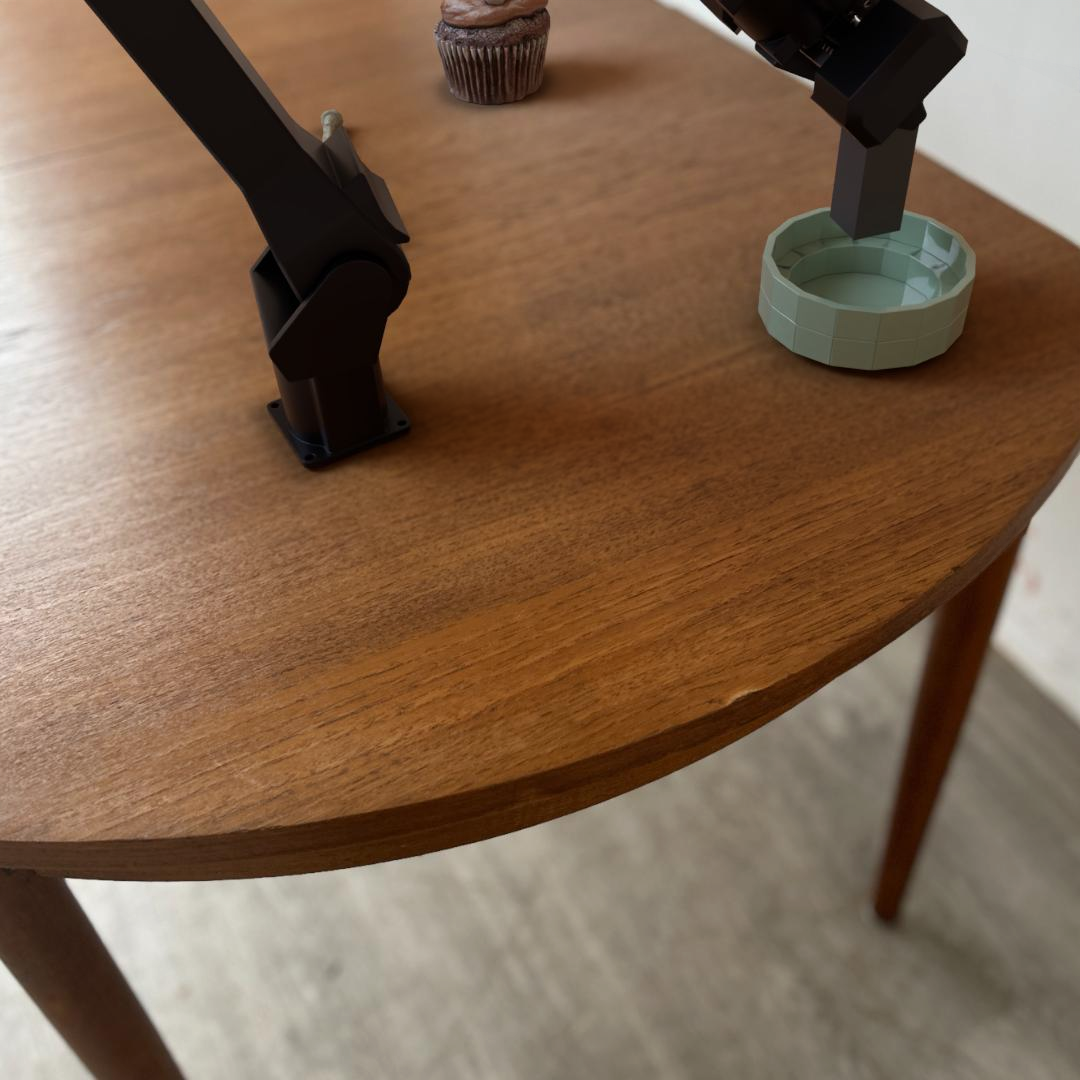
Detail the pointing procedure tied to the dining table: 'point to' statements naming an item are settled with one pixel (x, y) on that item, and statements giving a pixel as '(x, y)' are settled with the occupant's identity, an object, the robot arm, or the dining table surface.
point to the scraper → (872, 184)
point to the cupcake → (493, 48)
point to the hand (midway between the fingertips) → (903, 110)
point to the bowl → (865, 291)
